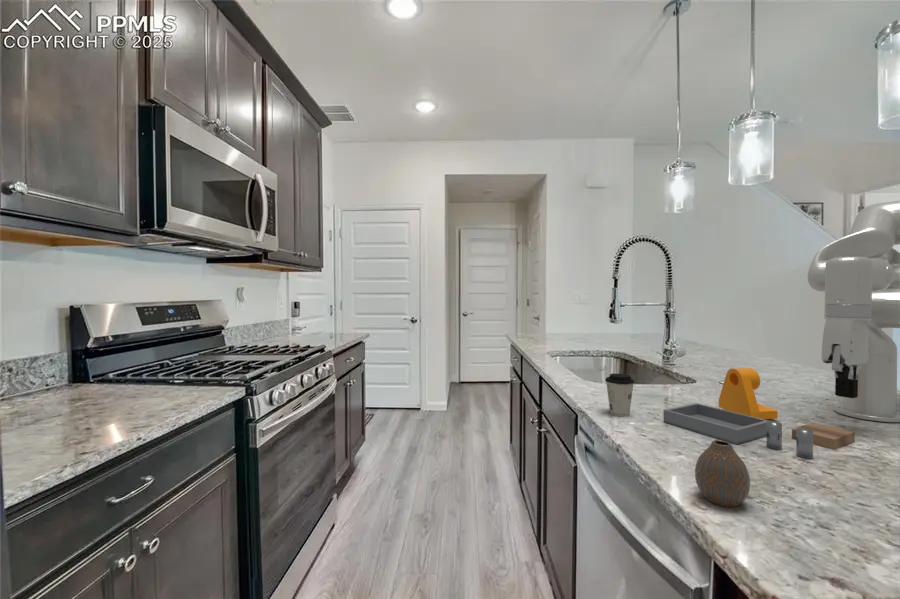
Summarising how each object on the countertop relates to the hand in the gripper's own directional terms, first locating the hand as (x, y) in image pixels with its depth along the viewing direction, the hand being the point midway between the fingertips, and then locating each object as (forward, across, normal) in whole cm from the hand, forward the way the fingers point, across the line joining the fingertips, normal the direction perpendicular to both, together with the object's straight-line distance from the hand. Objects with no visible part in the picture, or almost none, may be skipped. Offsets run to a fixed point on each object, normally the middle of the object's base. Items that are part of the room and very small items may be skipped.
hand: (846, 396), depth 90 cm
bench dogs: (+9, +23, 0) cm, 25 cm away
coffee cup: (+9, +32, -33) cm, 47 cm away
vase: (+10, +54, +5) cm, 55 cm away
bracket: (+8, +5, -17) cm, 20 cm away
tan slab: (+9, +10, 0) cm, 13 cm away
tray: (+9, +22, -15) cm, 28 cm away
